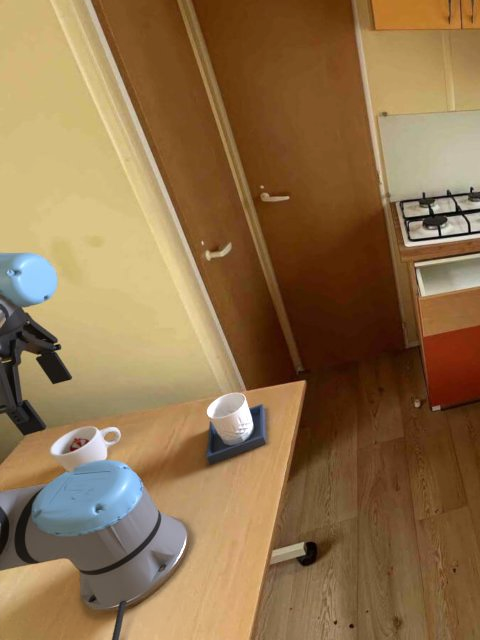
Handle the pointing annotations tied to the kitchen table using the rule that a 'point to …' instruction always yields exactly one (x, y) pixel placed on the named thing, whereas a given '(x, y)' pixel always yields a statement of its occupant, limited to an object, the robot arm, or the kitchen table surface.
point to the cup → (82, 446)
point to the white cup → (231, 418)
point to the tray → (258, 438)
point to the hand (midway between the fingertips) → (50, 404)
